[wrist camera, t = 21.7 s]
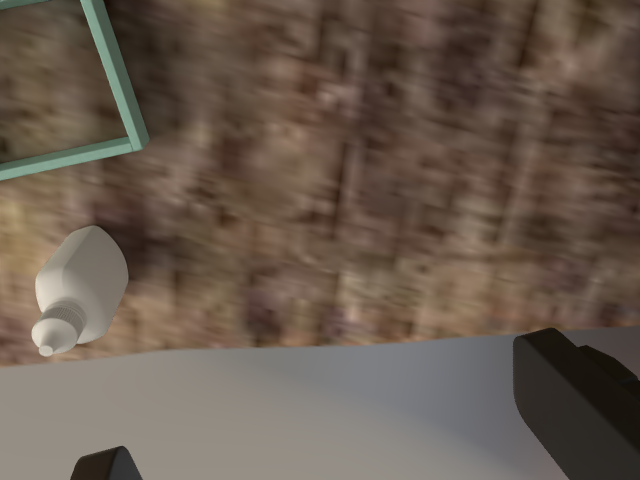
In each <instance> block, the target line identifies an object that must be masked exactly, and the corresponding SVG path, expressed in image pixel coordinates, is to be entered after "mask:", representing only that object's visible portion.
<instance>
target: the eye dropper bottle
mask: <svg viewBox="0 0 640 480" xmlns="http://www.w3.org/2000/svg"><path fill="white" fill-rule="evenodd" d="M127 284H128V269H127V264H126V261H125V258H124V256H123V254H122V252H121V250H120V248H119V247H118V245H117V244H116V242H115V241H114V240H113V239H112V238H111V237H110V236H109V235H108V234H107V233H106V232H105V231H104V230H103V229H101V228H100V227H98V226H88V227H85V228H82V229H79V230H76V231H73V232H72V233H70V234H69V235H68V237H67V238H66V239H65V240H64V241H63V243H62V244H61V245H60V246H59V248H58V249H57V250H56V251H55V252H54V254H53V255H52V256H51V257H50V259H49V260H48V261H47V262H46V264H45V265H44V266H43V267H42V269H41V270H40V272H39V273H38V275H37V277H36V284H35V287H36V296H37V300H38V304H39V307H40V310H41V312H42V315H41V316H40V318H39V319H38V321H37V322H36V324H35V325H34V327H33V329H32V338H33V341H34V342H35V344H36V345H37V346H38V347H39V353H40V354H41V355H43V356H50V355H52V354H53V353H62V352H66V351H69V350H70V349H72V348H73V347H74V346H75V344H76V343H86V342H89V341H92V340H95V339H98V338H100V337H102V336H103V335H104V334H106V332H107V331H108V328H109V326H110V324H111V322H112V320H113V317H114V315H115V313H116V310H117V308H118V306H119V303H120V301H121V299H122V296H123V294H124V291H125V289H126V287H127Z"/></svg>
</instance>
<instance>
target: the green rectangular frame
mask: <svg viewBox="0 0 640 480" xmlns="http://www.w3.org/2000/svg"><path fill="white" fill-rule="evenodd" d="M44 1H50V0H0V10H1V9H7V8H12V7H18V6H23V5H28V4H34V3H39V2H44ZM80 1H81V4H82V7H83V10H84V12H85V15H86V18H87V21H88V24H89V26H90V29H91V32H92V35H93V38H94V41H95V43H96V46H97V49H98V52H99V55H100V57H101V60H102V63H103V66H104V69H105V72H106V74H107V77H108V80H109V83H110V86H111V89H112V91H113V94H114V97H115V100H116V103H117V105H118V108H119V111H120V114H121V117H122V120H123V122H124V125H125V128H126V131H127V134H128V137H123V138H118V139H114V140H109V141H104V142H100V143H95V144H90V145H86V146H81V147H76V148H72V149H67V150H62V151H58V152H53V153H48V154H44V155H39V156H34V157H30V158H25V159H20V160H16V161H11V162H6V163H2V164H0V181H1V180H5V179H10V178H15V177H19V176H24V175H28V174H33V173H38V172H42V171H47V170H51V169H56V168H60V167H65V166H70V165H74V164H79V163H83V162H88V161H93V160H97V159H102V158H106V157H111V156H116V155H120V154H125V153H129V152H133V151H139V150H142V149H143V148H144V147H145V146H146V144H147V143H148V142H149V141H150V139H149V136H148V133H147V130H146V127H145V124H144V121H143V118H142V115H141V112H140V109H139V106H138V103H137V100H136V97H135V94H134V91H133V88H132V85H131V82H130V79H129V76H128V73H127V70H126V67H125V64H124V61H123V58H122V55H121V52H120V49H119V46H118V43H117V40H116V37H115V34H114V32H113V29H112V26H111V23H110V20H109V17H108V14H107V11H106V8H105V5H104V2H103V0H80Z"/></svg>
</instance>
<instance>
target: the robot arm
mask: <svg viewBox="0 0 640 480" xmlns="http://www.w3.org/2000/svg"><path fill="white" fill-rule="evenodd" d="M513 388H514V389H513V390H514V398H515V402H516V405H517V408H518V410H519V413H520V415H521V417H522V418H523V420H524V422H525V423H526V424H527V426H528V427H529V428H530V429H531V431H532V432H533V433H534V435H535V436H536V437H537V438H538V440H539V441H540V442H541V444H542V445H543V446H544V448H545V449H546V450H547V451H548V453H549V454H550V455H551V457H552V458H553V459H554V460H555V462H556V463H557V464H558V466H559V467H560V468H561V469H562V471H563V472H564V473H565V475H566V476H567V477H568V478H569V479H570V480H640V381H639V380H638V378H637V376H636V375H635V374H633V373H632V372H631V371H630V370H628V369H627V368H626V367H625V366H624V365H622V364H621V363H620V362H619V361H617V360H616V359H615V358H613V357H611V356H609V355H607V354H605V353H602V352H600V351H598V350H596V349H594V348H591V347H589V346H587V345H585V346H581V347H576V346H575V345H574V344H573V343H572V342H571V341H570V340H569V339H567V338H566V337H565V336H564V335H563V334H562V333H561V332H559V331H558V330H557V329H555V328H547V329H543V330H539V331H536V332H532V333H528V334H525V335H521V336H518V337H516V338H515V339H514V342H513ZM70 480H143V479H142V477H141V475H140V473H139V471H138V469H137V467H136V465H135V463H134V461H133V459H132V457H131V455H130V453H129V451H128V450H127V449H126V448H125V447H124V446H119V447H115V448H112V449H108V450H105V451H101V452H97V453H94V454H90V455H86V456H83V457H81V458H80V459H79V460H78V462H77V463H76V465H75V468H74V471H73V473H72V476H71V479H70Z"/></svg>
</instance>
